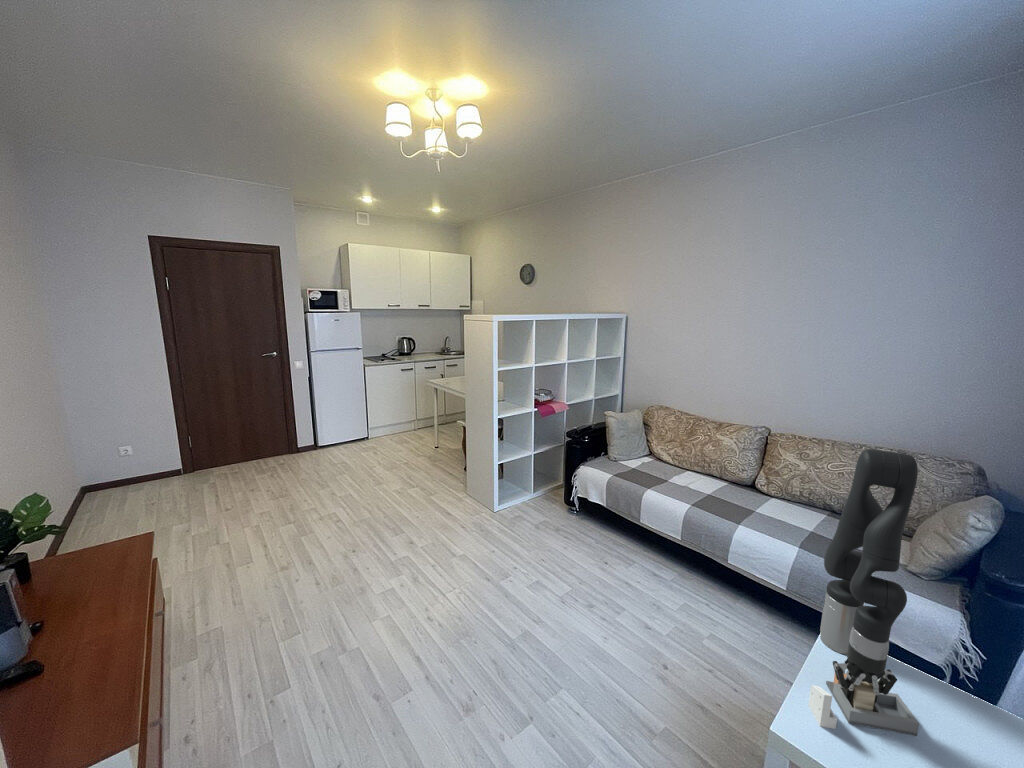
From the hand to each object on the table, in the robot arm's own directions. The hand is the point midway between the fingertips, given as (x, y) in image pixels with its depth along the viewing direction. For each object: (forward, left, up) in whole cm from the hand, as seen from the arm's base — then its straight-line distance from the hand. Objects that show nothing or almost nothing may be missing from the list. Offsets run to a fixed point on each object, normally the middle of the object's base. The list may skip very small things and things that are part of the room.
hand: (859, 700), depth 107 cm
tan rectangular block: (0, 0, -3) cm, 3 cm away
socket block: (-2, +4, -4) cm, 5 cm away
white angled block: (+4, -10, -4) cm, 11 cm away
